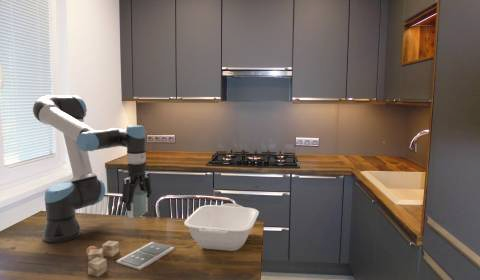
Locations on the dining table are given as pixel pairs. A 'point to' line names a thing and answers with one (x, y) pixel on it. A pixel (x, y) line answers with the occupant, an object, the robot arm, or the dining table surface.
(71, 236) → the robot arm
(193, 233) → the baking dish
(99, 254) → the block
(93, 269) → the block
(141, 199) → the cup
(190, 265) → the dining table surface
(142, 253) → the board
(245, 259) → the dining table surface
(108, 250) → the block
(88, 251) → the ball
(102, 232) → the dining table surface
